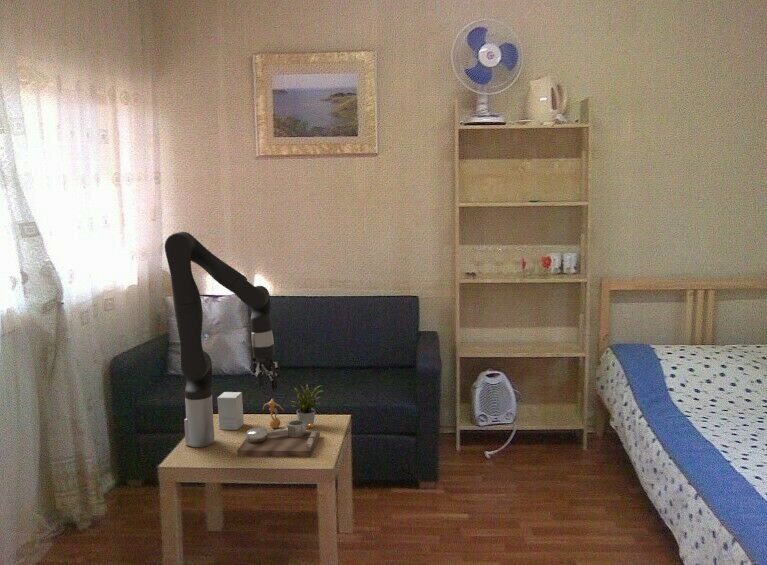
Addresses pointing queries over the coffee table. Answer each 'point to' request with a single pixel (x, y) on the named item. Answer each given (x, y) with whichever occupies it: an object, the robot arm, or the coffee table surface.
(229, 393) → the supplement box
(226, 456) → the coffee table surface
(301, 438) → the stand base
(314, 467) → the coffee table surface
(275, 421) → the figurine
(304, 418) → the house plant
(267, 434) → the baby rattle
